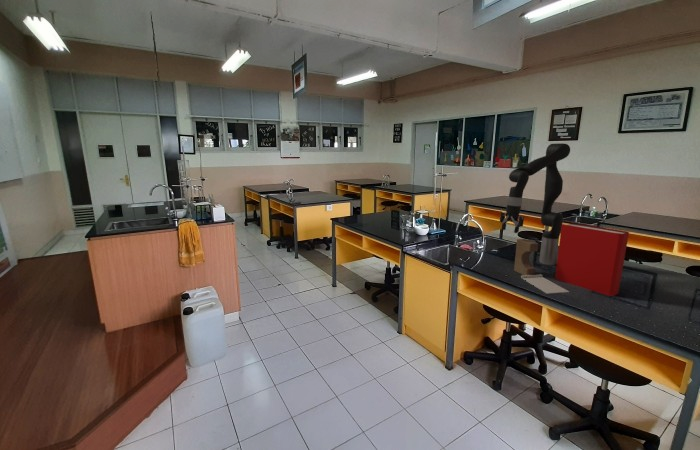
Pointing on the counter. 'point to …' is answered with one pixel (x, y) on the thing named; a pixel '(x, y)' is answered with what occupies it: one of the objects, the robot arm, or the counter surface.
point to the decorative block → (524, 256)
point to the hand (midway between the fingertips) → (509, 231)
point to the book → (591, 257)
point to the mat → (543, 284)
